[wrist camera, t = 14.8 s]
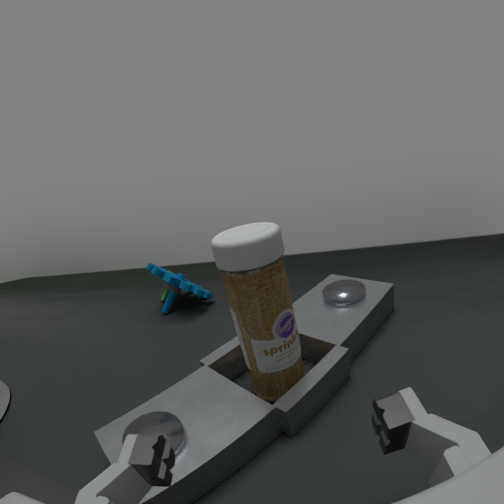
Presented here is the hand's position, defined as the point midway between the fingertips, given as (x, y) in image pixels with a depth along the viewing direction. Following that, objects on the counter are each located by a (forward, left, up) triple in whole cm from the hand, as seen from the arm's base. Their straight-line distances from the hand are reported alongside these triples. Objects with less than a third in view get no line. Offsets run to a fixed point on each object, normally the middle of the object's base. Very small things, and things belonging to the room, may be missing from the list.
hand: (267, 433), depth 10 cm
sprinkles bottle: (+8, +9, -9) cm, 15 cm away
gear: (+13, +31, -9) cm, 35 cm away
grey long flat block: (+8, +9, -9) cm, 15 cm away
